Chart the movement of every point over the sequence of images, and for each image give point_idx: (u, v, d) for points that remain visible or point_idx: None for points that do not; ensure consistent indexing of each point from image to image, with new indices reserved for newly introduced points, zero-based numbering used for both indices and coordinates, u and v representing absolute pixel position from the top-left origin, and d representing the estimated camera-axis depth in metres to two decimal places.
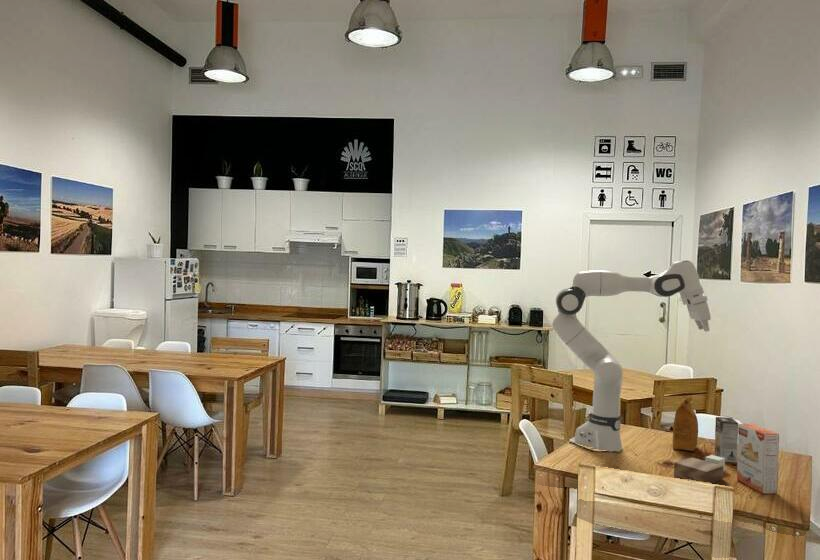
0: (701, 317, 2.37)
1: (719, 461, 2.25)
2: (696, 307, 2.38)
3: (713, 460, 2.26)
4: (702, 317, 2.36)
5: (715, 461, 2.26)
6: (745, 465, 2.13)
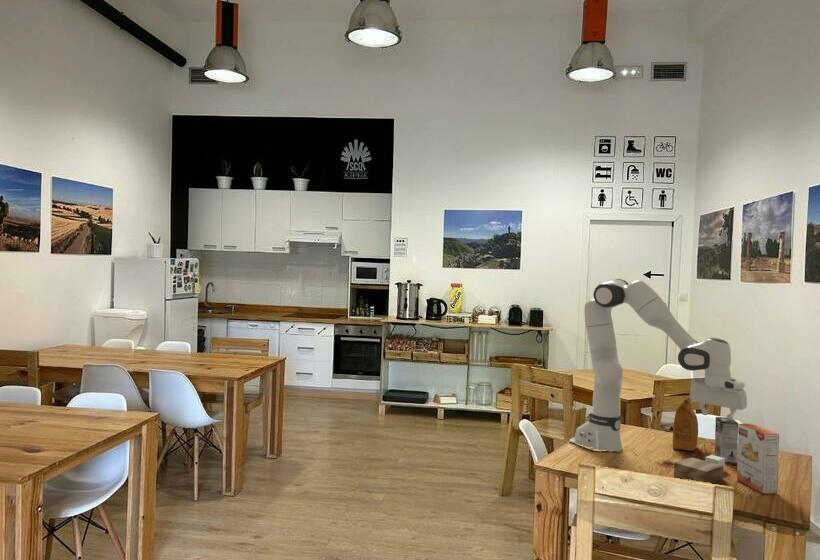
0: (742, 405, 2.19)
1: (719, 461, 2.25)
2: (740, 393, 2.19)
3: (713, 460, 2.26)
4: (743, 405, 2.19)
5: (715, 461, 2.26)
6: (745, 465, 2.13)
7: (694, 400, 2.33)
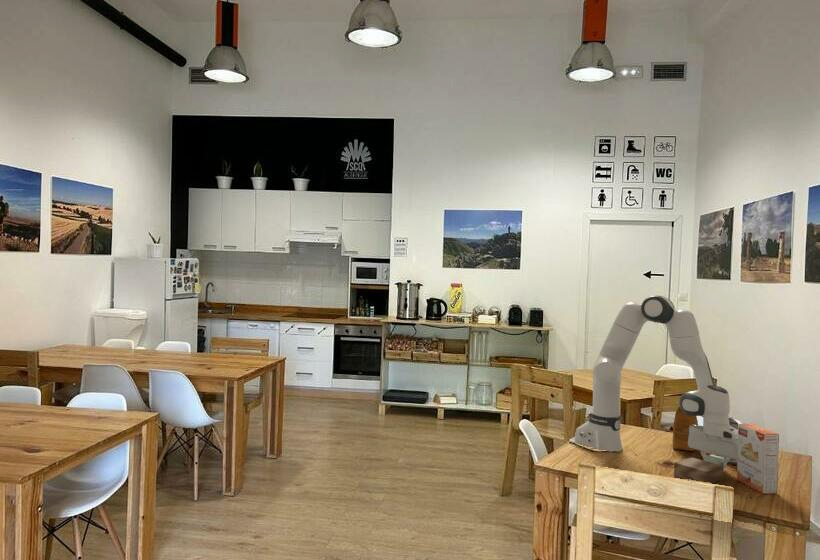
0: None
1: (719, 461, 2.25)
2: None
3: (713, 460, 2.26)
4: None
5: (715, 461, 2.26)
6: (745, 465, 2.13)
7: (692, 447, 2.34)
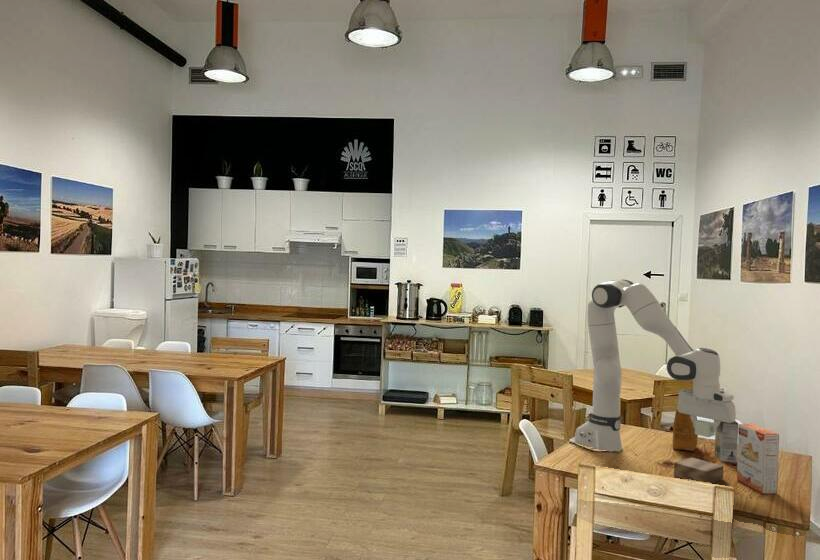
0: (731, 418, 2.13)
1: (709, 424, 2.19)
2: (729, 406, 2.13)
3: (703, 424, 2.20)
4: (732, 418, 2.13)
5: (705, 424, 2.19)
6: (745, 465, 2.13)
7: (682, 411, 2.27)
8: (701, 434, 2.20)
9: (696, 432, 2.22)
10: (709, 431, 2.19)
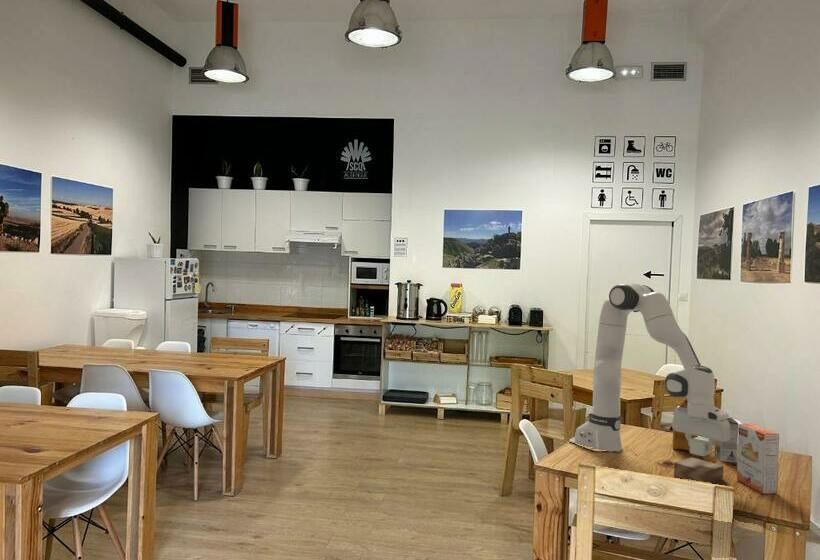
0: (726, 437, 2.10)
1: (704, 443, 2.16)
2: (723, 425, 2.10)
3: (698, 442, 2.17)
4: (726, 437, 2.10)
5: (700, 443, 2.16)
6: (745, 465, 2.13)
7: (676, 430, 2.24)
8: (696, 453, 2.18)
9: (691, 451, 2.19)
10: (704, 449, 2.16)
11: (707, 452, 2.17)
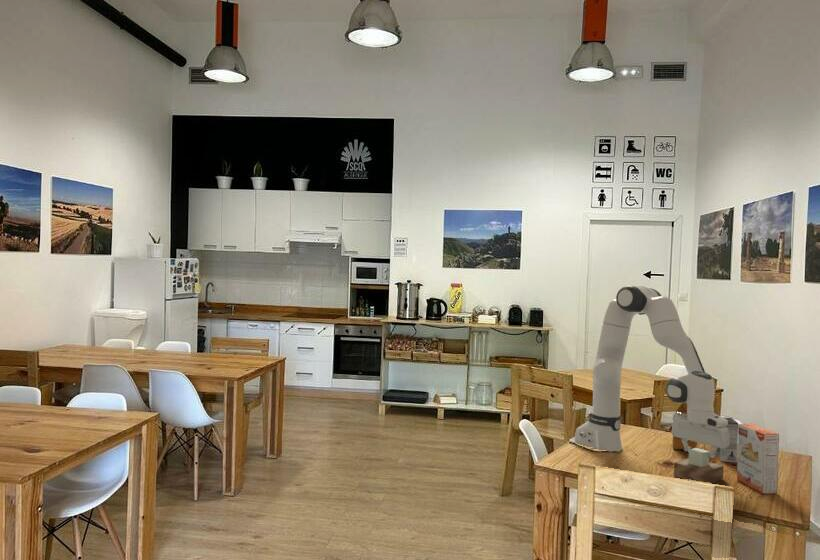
0: (725, 443, 2.10)
1: (703, 454, 2.16)
2: (723, 431, 2.11)
3: (697, 453, 2.17)
4: (725, 444, 2.10)
5: (699, 454, 2.17)
6: (745, 465, 2.13)
7: (676, 435, 2.24)
8: (695, 463, 2.18)
9: (690, 461, 2.19)
10: (702, 460, 2.16)
11: (706, 463, 2.18)
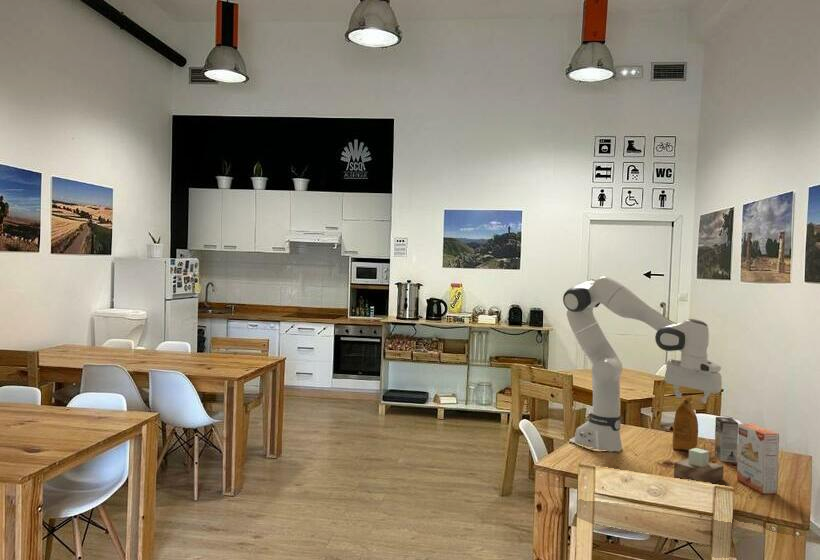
0: (717, 388, 2.14)
1: (703, 454, 2.16)
2: (715, 376, 2.14)
3: (697, 453, 2.17)
4: (717, 388, 2.14)
5: (699, 454, 2.17)
6: (745, 465, 2.13)
7: (669, 382, 2.28)
8: (695, 463, 2.18)
9: (690, 461, 2.19)
10: (702, 460, 2.16)
11: (706, 463, 2.18)
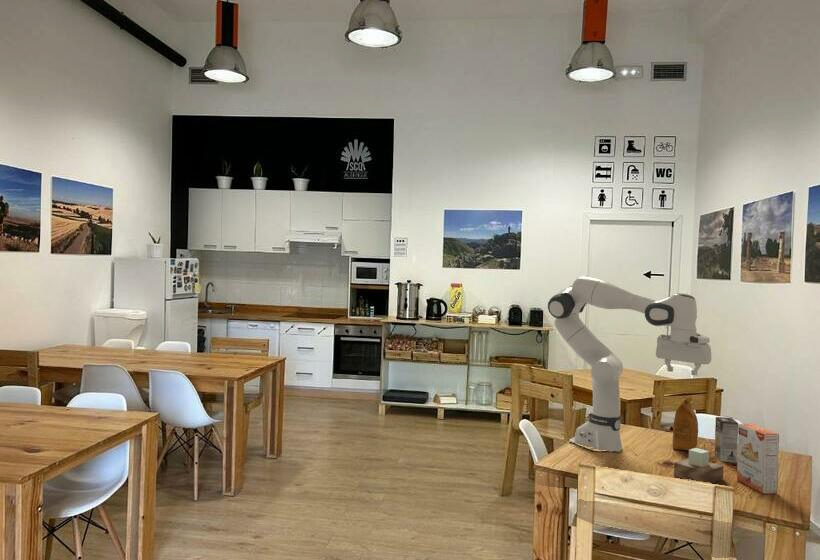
0: (706, 359, 2.17)
1: (703, 454, 2.16)
2: (704, 347, 2.17)
3: (697, 453, 2.17)
4: (707, 359, 2.17)
5: (699, 454, 2.17)
6: (745, 465, 2.13)
7: (660, 357, 2.31)
8: (695, 463, 2.18)
9: (690, 461, 2.19)
10: (702, 460, 2.16)
11: (706, 463, 2.18)
